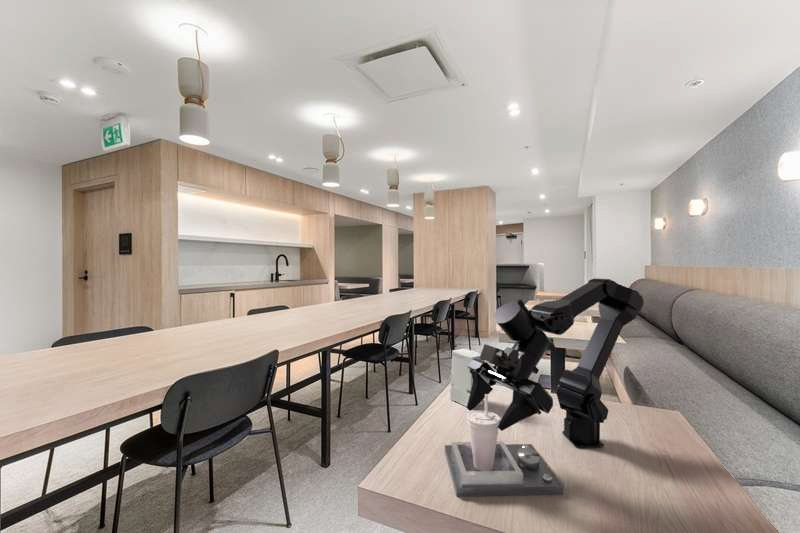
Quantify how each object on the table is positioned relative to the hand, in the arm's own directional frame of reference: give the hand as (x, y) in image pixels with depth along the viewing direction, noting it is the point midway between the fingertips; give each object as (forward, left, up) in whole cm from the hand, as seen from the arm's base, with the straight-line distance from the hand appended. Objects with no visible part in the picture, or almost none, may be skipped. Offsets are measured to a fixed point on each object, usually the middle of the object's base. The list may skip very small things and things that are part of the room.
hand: (483, 418), depth 66 cm
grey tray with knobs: (-3, -1, -11) cm, 12 cm away
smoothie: (0, 0, -10) cm, 10 cm away
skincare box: (-4, -34, -11) cm, 36 cm away
